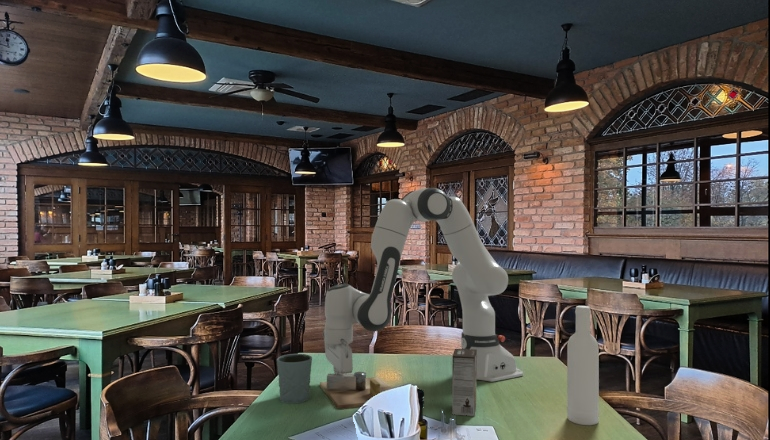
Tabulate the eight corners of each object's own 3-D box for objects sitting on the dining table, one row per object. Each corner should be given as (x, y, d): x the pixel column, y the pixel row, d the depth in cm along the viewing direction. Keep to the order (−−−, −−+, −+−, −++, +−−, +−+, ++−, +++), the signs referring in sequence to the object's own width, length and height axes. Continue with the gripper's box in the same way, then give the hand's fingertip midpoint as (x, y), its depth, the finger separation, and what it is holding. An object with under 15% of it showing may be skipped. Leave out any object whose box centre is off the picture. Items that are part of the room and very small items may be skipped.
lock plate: (378, 379, 173) (378, 364, 173) (404, 401, 152) (405, 384, 152) (319, 385, 166) (319, 369, 167) (338, 409, 145) (338, 391, 145)
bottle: (562, 415, 142) (562, 304, 142) (589, 414, 142) (589, 304, 143) (575, 426, 134) (575, 308, 134) (604, 425, 134) (604, 308, 135)
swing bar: (366, 386, 161) (366, 371, 161) (365, 390, 158) (365, 375, 158) (328, 386, 162) (328, 371, 162) (326, 389, 158) (326, 374, 158)
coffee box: (454, 403, 150) (454, 347, 150) (476, 405, 149) (476, 349, 149) (451, 414, 141) (452, 355, 141) (475, 416, 140) (476, 356, 140)
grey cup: (317, 395, 157) (317, 355, 157) (301, 406, 147) (301, 363, 147) (287, 391, 160) (287, 352, 160) (269, 401, 151) (270, 360, 151)
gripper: (357, 342, 155) (357, 389, 155) (340, 329, 174) (340, 371, 174) (337, 344, 153) (337, 391, 152) (321, 331, 172) (321, 373, 172)
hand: (338, 380), depth 163 cm, fingers closed
